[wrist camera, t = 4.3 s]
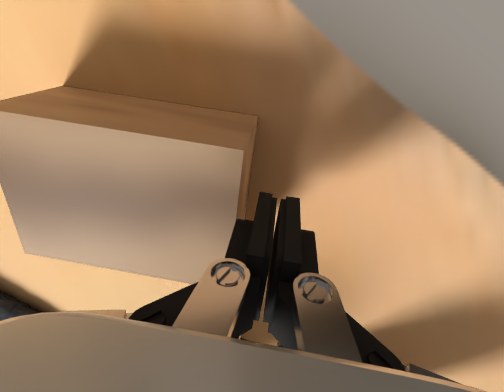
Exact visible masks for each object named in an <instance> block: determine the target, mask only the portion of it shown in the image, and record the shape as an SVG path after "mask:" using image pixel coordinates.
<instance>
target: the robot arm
mask: <svg viewBox="0 0 504 392" xmlns="http://www.w3.org/2000/svg"><path fill="white" fill-rule="evenodd" d="M276 204H277V198H274V197H272V194H270V193H264V192H260V194H259V199H258V203H257V208H256V213H255V218H254V221H248V220H243V219H236V222H235V225H234V228H233V232H232V235H231V238H230V242H229V245H228V248H227V251H226V255H225V258H222V259H218V260H215V261H214V262H212V263H211V264H210V265H209V266H208V267H207V269H206V270H205V272H204V274H203V275H202V277H201V279H200V280H199V282H197V283H194V284H192V285H190V286H188V287H185V288H183V289H181V290H179V291H176V292H174V293H172V294H170V295H167V296H165V297H163V298H161V299H159V300H156V301H154V302H152V303H150V304H147V305H145V306H143V307H141V308H139V309H138V310H136V311H135V312H134V313H126V310H90V311H60V312H46V313H37V314H31V315H24V316H18V317H14V318H10V319H6V320H3V321H0V392H486V391H483V390H480V389H477V388H474V387H470V386H466V385H463V384H460V383H458V382H455V381H453V380H450V379H448V378H445V377H443V376H440V375H437V374H435V373H432V372H430V371H427V370H425V369H422V368H420V367H417V366H415V365H412V364H410V363H409V364H408V366H404V365H402V363H401V362H400V360H399V359H398V358H397V357H396V356H395V355H394V354H393V353H392V352H391V351H390V350H388V349H387V348H386V347H385V346H384V345H383V344H382V343H380V342H379V341H378V340H377V339H376V338H375V337H374V336H372V335H371V334H370V333H369V332H368V331H367V330H366V329H364V328H363V327H362V326H361V325H360V324H359V323H358V322H356V321H355V320H354V319H353V318H352V317H351V316H350V315H349V314H347V313H346V312H345V311H344V308H343V305H342V302H341V299H340V296H339V293H338V291H337V289H336V287H335V285H334V284H333V283H332V282H331V281H330V280H329V279H327V278H326V277H324V276H322V275H319V271H318V262H317V252H316V242H315V233H314V232H313V231H307V230H301V222H300V198H295V197H288V196H287V197H286V199H281V201H280V206H279V211H278V216H277V221H276V227H275V232H274V224H275V214H276ZM273 234H274V237H273ZM267 276H268V280H267ZM266 281H267V290H266V299H265V309H264V318H263V322H268V323H269V324H268V332H270V333H272V335H273V336H274V337H275V338H276V339H277V340H278V343H277V346H272V345H267V344H262V343H256V342H251V341H246V340H241V339H240V336H241V335H242V334H244V333H245V332H247V331H248V330H250V329H252V325H253V320H257V321H259V317H260V312H261V306H262V301H263V296H264V291H265V286H266Z"/></svg>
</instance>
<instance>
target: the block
mask: <svg viewBox="0 0 504 392" xmlns="http://www.w3.org/2000/svg"><path fill="white" fill-rule="evenodd" d="M257 122H258V116H255V115H248V114H242V113H235V112H229V111H222V110H216V109H209V108H203V107H196V106H190V105H184V104H177V103H171V102H164V101H158V100H151V99H145V98H138V97H132V96H125V95H119V94H112V93H106V92H100V91H93V90H87V89H80V88H74V87H67V86H60V87H56V88H52V89H47V90H43V91H39V92H35V93H30V94H26V95H22V96H18V97H13V98H9V99H5V100H1V101H0V184H1V187H2V189H3V192H4V195H5V198H6V201H7V204H8V207H9V209H10V212H11V215H12V218H13V221H14V224H15V227H16V229H17V232H18V235H19V238H20V241H21V244H22V247H23V249H24V252H25V253H26V254H32V255H37V256H43V257H48V258H53V259H59V260H64V261H70V262H75V263H81V264H86V265H91V266H97V267H102V268H108V269H113V270H118V271H124V272H129V273H135V274H140V275H146V276H151V277H156V278H162V279H167V280H173V281H178V282H184V283H189V284H194V283H197V282H199V280H200V279H201V277H202V275H203V274H204V272H205V270H206V269H207V267H208V266H209V265H210V264H211V263H212V262H214V261H215V260H218V259H222V258H225V255H226V251H227V248H228V245H229V242H230V238H231V235H232V232H233V228H234V225H235V222H236V219H243V220H245V213H246V205H247V198H248V190H249V183H250V175H251V167H252V160H253V152H254V144H255V137H256V129H257Z"/></svg>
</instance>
